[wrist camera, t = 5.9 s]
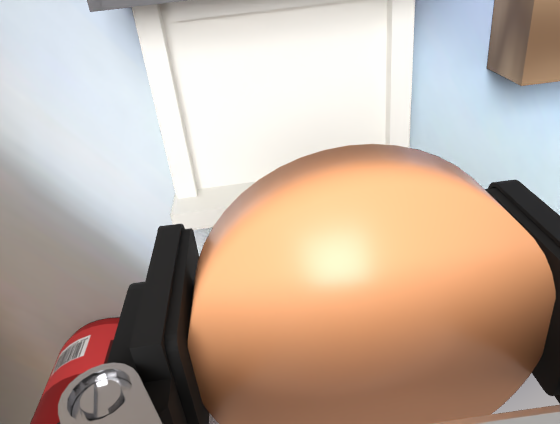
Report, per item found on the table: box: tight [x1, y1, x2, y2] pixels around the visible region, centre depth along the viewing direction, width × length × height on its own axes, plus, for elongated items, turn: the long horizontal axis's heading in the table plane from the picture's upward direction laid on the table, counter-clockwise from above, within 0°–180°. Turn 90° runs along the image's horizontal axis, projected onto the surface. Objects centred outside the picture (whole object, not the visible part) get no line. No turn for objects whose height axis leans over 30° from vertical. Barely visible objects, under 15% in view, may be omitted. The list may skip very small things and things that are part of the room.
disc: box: [188, 144, 556, 424], centre depth 10 cm, size 7×7×2 cm
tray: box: [132, 0, 415, 230], centre depth 22 cm, size 12×12×3 cm
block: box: [487, 0, 560, 86], centre depth 23 cm, size 4×4×4 cm
